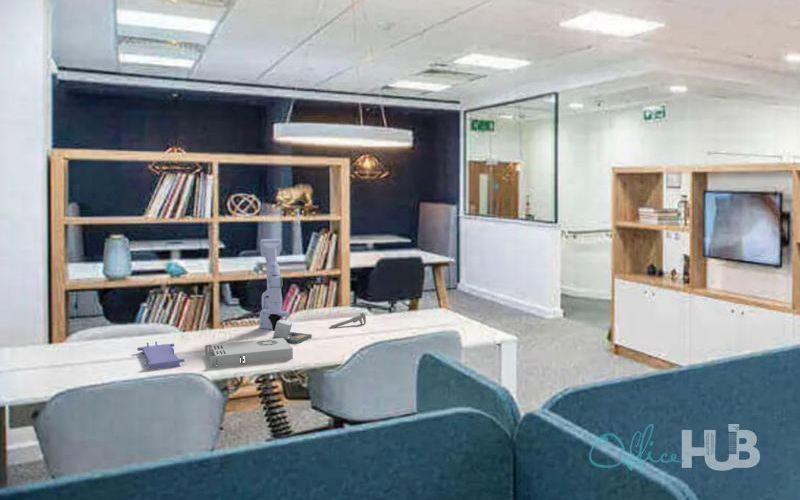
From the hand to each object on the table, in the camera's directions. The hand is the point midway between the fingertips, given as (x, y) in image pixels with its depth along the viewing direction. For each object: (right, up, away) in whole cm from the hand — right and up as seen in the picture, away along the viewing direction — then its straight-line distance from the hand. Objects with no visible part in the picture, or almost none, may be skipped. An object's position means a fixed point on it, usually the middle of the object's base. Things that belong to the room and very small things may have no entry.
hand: (275, 330), depth 299 cm
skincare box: (+3, -3, 0) cm, 4 cm away
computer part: (-41, -8, -34) cm, 54 cm away
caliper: (+32, -1, +24) cm, 40 cm away
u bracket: (+8, -4, -2) cm, 9 cm away
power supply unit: (-5, -8, -32) cm, 33 cm away
